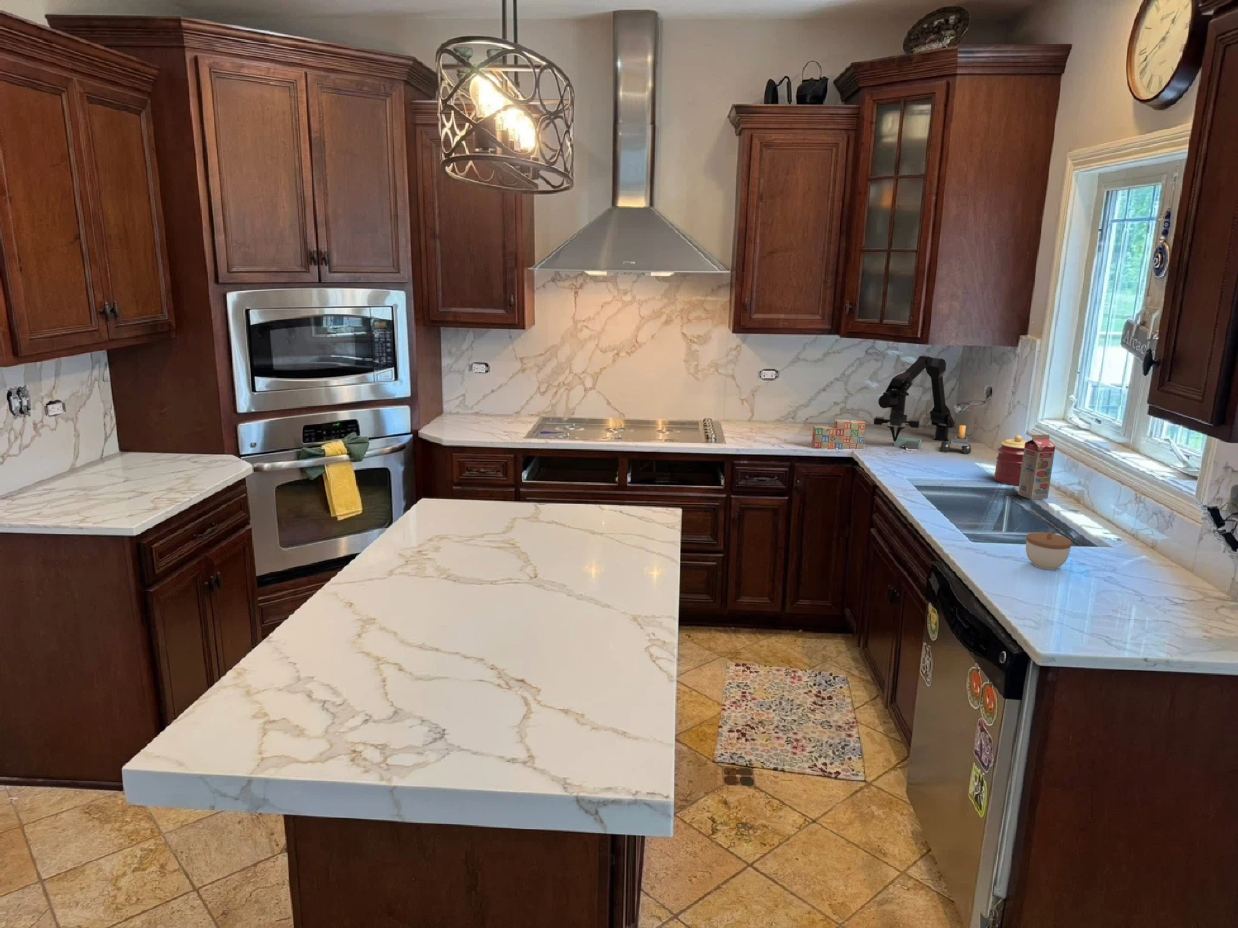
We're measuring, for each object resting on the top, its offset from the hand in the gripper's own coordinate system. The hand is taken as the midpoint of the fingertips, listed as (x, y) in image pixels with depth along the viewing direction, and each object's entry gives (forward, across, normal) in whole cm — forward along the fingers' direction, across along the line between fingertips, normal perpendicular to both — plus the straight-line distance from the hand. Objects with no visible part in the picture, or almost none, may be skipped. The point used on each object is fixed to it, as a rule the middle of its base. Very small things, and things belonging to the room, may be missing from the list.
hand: (894, 441), depth 362 cm
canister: (+3, +44, -43) cm, 62 cm away
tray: (+3, +5, +6) cm, 9 cm away
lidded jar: (+3, +46, -139) cm, 146 cm away
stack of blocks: (+3, -23, -11) cm, 26 cm away
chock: (+3, +7, 0) cm, 8 cm away
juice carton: (+3, +50, -63) cm, 80 cm away
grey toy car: (+3, +25, +4) cm, 25 cm away
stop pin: (-2, +27, +4) cm, 27 cm away
